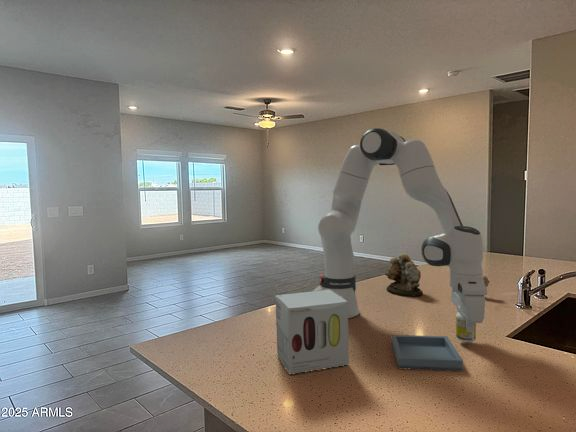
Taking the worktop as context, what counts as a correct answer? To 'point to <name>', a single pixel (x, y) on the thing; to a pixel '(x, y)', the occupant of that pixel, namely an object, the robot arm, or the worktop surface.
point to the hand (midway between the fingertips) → (465, 326)
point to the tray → (426, 353)
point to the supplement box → (312, 330)
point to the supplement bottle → (460, 328)
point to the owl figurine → (404, 277)
